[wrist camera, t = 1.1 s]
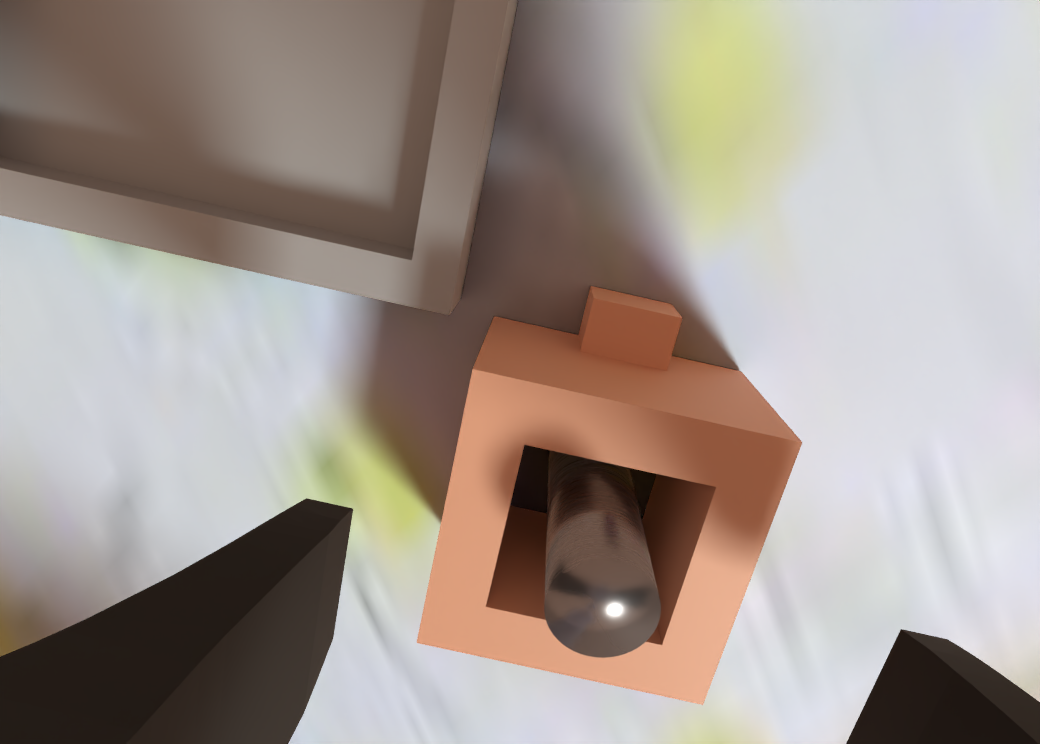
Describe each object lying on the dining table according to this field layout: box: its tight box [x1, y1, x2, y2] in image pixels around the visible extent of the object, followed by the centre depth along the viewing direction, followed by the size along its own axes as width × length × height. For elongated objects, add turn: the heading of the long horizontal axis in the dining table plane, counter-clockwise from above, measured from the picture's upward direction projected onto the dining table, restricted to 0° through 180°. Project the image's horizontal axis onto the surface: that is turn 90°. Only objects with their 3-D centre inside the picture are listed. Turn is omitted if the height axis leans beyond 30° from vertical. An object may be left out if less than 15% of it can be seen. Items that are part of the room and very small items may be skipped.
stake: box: [544, 450, 661, 658], centre depth 12 cm, size 2×2×5 cm
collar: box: [417, 286, 802, 705], centre depth 12 cm, size 6×5×4 cm
